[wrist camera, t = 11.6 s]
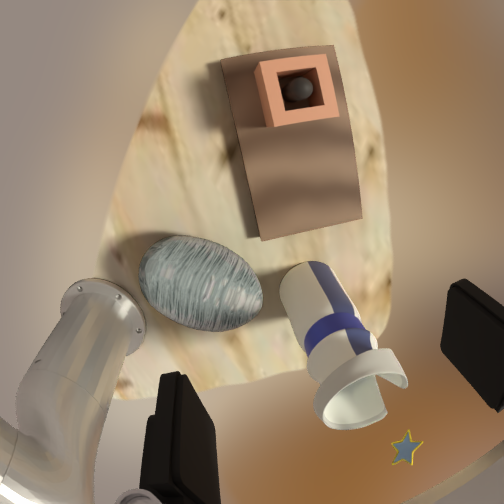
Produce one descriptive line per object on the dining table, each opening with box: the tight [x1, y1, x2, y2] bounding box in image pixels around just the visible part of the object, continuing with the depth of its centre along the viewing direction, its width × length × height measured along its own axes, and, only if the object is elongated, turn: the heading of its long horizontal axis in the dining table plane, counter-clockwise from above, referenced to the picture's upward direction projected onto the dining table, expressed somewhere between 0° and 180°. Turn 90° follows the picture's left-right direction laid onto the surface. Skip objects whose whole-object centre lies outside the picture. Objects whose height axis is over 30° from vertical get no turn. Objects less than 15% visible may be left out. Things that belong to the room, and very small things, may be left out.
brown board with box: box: [221, 45, 362, 241], centre depth 28 cm, size 20×12×8 cm, turn 12°
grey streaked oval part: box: [139, 236, 263, 332], centre depth 33 cm, size 14×10×10 cm
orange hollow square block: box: [254, 54, 340, 127], centre depth 26 cm, size 6×6×5 cm
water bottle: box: [279, 261, 423, 465], centre depth 27 cm, size 8×8×25 cm
